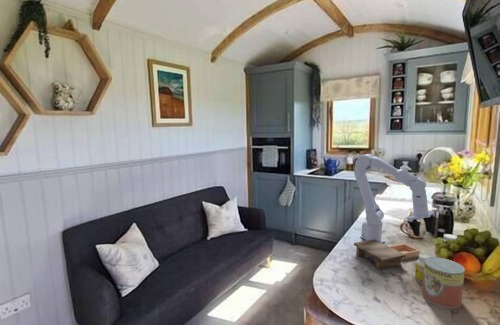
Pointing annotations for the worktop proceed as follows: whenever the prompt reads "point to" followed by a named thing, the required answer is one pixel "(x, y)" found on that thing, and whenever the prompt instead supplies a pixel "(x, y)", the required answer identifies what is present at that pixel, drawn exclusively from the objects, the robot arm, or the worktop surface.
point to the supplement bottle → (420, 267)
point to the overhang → (379, 253)
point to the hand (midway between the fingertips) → (423, 234)
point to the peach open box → (406, 251)
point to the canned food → (443, 282)
